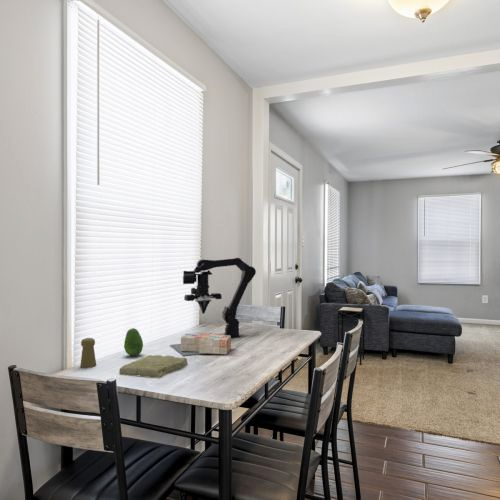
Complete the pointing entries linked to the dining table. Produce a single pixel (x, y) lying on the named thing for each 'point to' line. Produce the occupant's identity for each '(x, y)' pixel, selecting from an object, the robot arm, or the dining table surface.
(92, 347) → the cork
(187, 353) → the mat
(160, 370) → the decorative tile
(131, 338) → the avocado
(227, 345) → the stack of blocks
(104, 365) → the dining table surface
